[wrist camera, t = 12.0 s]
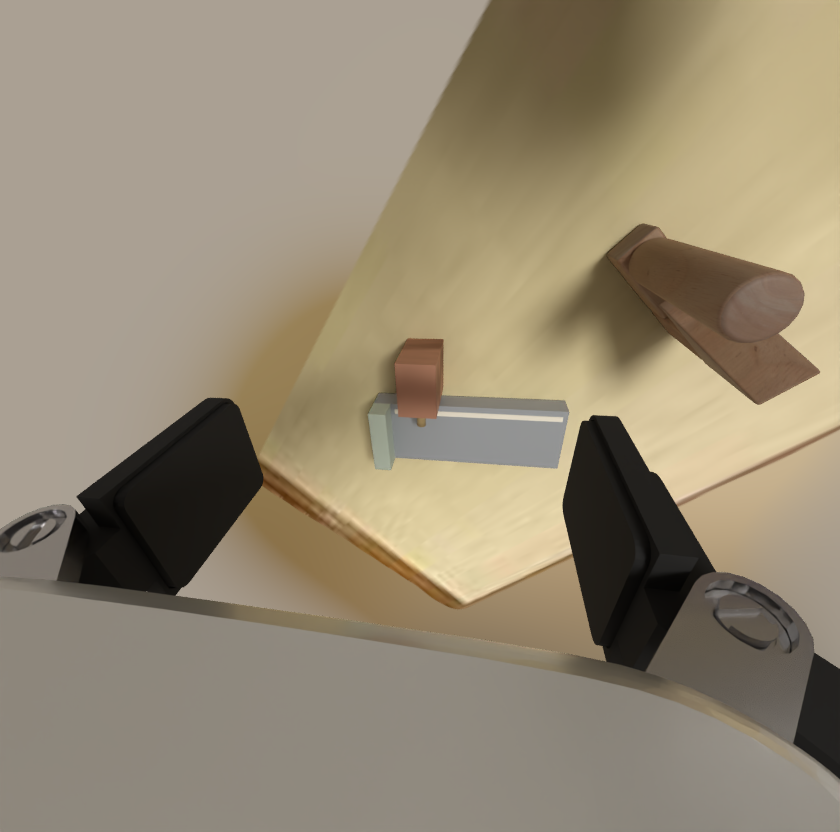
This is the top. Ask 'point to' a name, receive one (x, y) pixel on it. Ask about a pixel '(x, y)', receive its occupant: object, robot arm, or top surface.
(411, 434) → the grey board
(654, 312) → the brown forked upright piece
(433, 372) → the brown block
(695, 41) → the top surface
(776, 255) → the top surface
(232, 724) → the robot arm
